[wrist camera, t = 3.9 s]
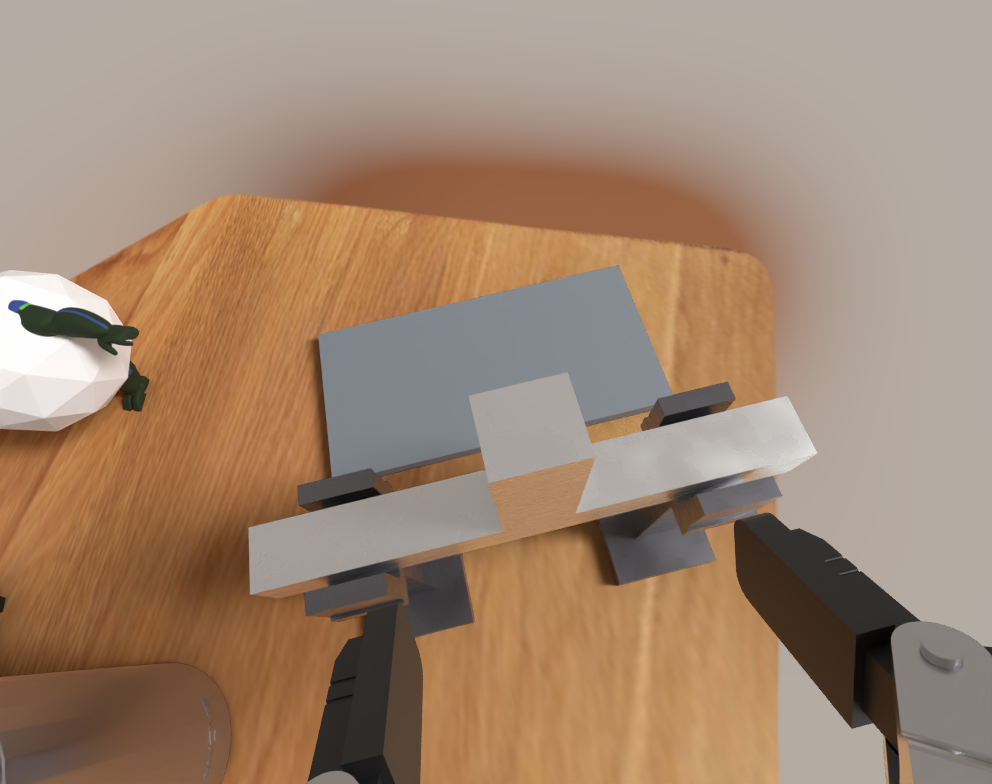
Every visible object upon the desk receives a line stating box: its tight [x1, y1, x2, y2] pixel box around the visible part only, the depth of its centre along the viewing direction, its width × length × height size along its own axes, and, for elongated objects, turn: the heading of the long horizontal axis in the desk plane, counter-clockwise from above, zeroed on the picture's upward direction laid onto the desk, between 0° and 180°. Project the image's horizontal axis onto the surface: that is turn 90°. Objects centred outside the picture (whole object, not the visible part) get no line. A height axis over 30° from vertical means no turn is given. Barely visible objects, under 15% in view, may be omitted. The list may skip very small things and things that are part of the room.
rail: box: [249, 372, 817, 598], centre depth 18 cm, size 22×2×10 cm, turn 103°
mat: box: [318, 265, 673, 477], centre depth 38 cm, size 24×12×1 cm, turn 103°
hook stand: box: [297, 382, 782, 638], centre depth 26 cm, size 21×7×14 cm, turn 103°
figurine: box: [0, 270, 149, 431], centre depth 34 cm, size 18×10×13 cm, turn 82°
